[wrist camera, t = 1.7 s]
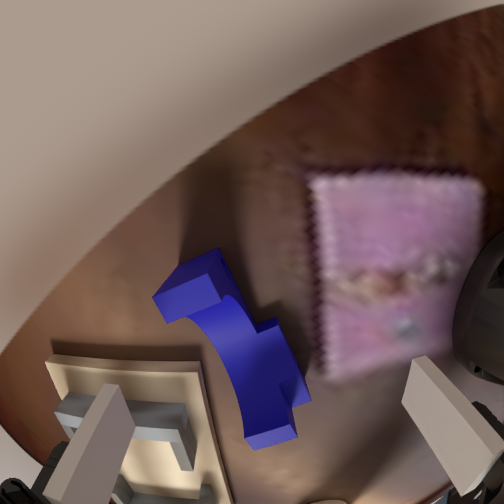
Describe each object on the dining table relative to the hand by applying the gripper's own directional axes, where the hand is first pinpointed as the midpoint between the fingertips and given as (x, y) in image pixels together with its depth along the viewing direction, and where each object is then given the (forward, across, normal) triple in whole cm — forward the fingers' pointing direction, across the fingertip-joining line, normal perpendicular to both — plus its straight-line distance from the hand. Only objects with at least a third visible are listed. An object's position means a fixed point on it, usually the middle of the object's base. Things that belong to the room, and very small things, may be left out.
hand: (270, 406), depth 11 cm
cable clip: (+9, +1, +1) cm, 9 cm away
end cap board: (+9, +12, +15) cm, 21 cm away
